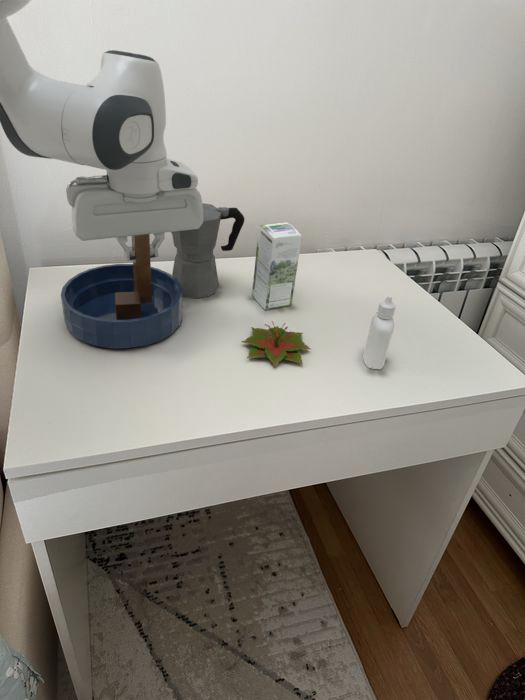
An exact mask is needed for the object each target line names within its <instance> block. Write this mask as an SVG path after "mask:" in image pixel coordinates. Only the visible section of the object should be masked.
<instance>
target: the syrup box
mask: <svg viewBox="0 0 525 700" xmlns="http://www.w3.org/2000/svg"><path fill="white" fill-rule="evenodd" d="M257 229H258V231H257V240H256V249H255V250H256V251H255V259H254V260H255V261H254V272H253V282H252V289H251V290H252V292H251V296H252V297H253V298H254V300H256V302H257V303H258V304H259V305H260V306H261V307H262V308H263V309H264V310H265V311H267V310H274V309H278V308H285V307H290V306H292V304H293V298H294V291H295V286H296V278H297V273H298V264H299V260H300V259H299V258H300V254H301V253H300V251H301V247H302V246H301V245H302V239H303V235H302V234H301V233H300V231H298V230H297V229H296V228H295V227H294V226H293V225H292V224H290V223H288V222H287V221H286V222H278V223H269V224H260V225H258V228H257Z"/></svg>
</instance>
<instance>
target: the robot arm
mask: <svg viewBox="0 0 525 700" xmlns="http://www.w3.org/2000/svg"><path fill="white" fill-rule="evenodd" d="M31 1H32V0H0V125H1V129H2V130H3V132H4V134H5V136H6V138H7V139H8V141H9V143H10V144H11V145H12V146H13V148H14V149H16V150H17V151H18V152H20V153H21V154H24V155H25V156H28V157H32V158H41V159H49V160H58V161H62V162H66V163H71V164H76V165H80V166H86V167H90V168H96V169H100V170H106V174H105V175H104V174H103V175H93V176H77V177H75V179H74V180H71V181H70V182H69V183H68V184H67V186H66V190H65V192H66V199H67V200H66V201H67V203H68V205H70V207H71V226H72V230H73V233H74V235H75V237H77V238H78V239H79V240H80V241H82V242H84V241H85V242H86V241H95V240H104V239H105V240H106V239H114V238H115V240H116V241H117V243H118V244H119V246H120V247H121V248H122V249H123V255H124V259H125V261H126V262H129V261H133V260H135V250H134V249H133V247H132V245H130V246H128V245H127V243H128V237H131V236H135V235H145V234H150V235H153V236H154V237H153V240H152V242H150V259H154V258H158V257H159V249H160V247H161V245H162V244H163V242H164V241H165V233H171V232H174V231H184V230H194V229H199V228H200V226H201V225H202V223H203V205H202V203H203V199H202V195H201V192H200V191H199V190H198V189H197V187H198V185H199V178H198V175H197V173H195V172H194V170H193V169H192V168H191V167H189V166H188V165H187V164H186V163H184V162H181V161H178V160H174V159H171V158H168V157H167V155H168V153H167V148H166V144H165V140H164V138H165V137H164V136H165V135H164V134H165V130H166V126H167V113H166V112H167V111H166V95H165V87H164V80H163V75H162V71H161V66H160V64H159V62H158V61H157V60H155V59H154V58H153V57H151V56H148V55H145V54H139V53H132V52H128V51H122V50H115V49H113V50H112V49H111V50H110V49H109V50H107V51H104V52H102V54H101V59H100V60H101V61H100V71H99V72H98V73H97V75H96V76H95V77H94V78H93V79H92V80H91V81H89V82H88V83H87V84H86V85H85V84H84V85H83V84H79V83H73V82H67V81H62V80H57V79H54V78H51V77H48V76H46V75H44V74H42V73H40V72H39V71H37V70H36V69H35V68H33V67H32V66H31V64H30V63H29V61H28V59H27V56H26V55H25V53H24V50H23V48H22V47H21V44H20V43H19V41H18V38H17V36H16V34H15V31H14V30H13V28H12V26H11V24H10V22H9V20H8V17H11V16H13V15H15V14H16V13H18V12H19V11H21V10H22V9H24V8H25V7H26V6H27V5H28V4H30V2H31Z"/></svg>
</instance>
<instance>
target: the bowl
mask: <svg viewBox="0 0 525 700" xmlns="http://www.w3.org/2000/svg"><path fill="white" fill-rule="evenodd" d="M116 292H134V273H133V263H114V264H113V263H112V264H105V265H100V266H96V267H92V268H89V269H86V270H83V271H82V272H79V273H77V274H76V275H74V276H73V277H70V279H68V280H67V281H66V283H65V284H64V285H63V286H62V289H61V292H60V299H61V306H62V307H61V308H62V313H63V319H64V323H65V325H66V326H65V327H66V329H67V330H68V332H69V333H70V334H71V335H72V336H73V337H75V338H76V339H78V340H80V341H82V342H83V343H86V344H89V345H92V346H96V347H101V348H108V349H132V348H133V349H134V348H138V347H144V346H148V345H152V344H154V343H157V342H159V341H162V340H163V339H165V338H167V337H169V336H170V335H172V334H173V333H174V332H175V331H176V330H177V329H178V328H179V327H180V325H181V322H182V320H183V296H182V288H181V285H180V284H179V282H178V281H177V279H176V278H174V277H173V276H172V274H170V273H169V272H166V271H165V270H162V269H160V268H158V267H153V266H151V293H152V302H151V303H144V304H141V318H136V319H130V320H117V318H116V306H115V293H116Z"/></svg>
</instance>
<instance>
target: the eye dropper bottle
mask: <svg viewBox="0 0 525 700" xmlns="http://www.w3.org/2000/svg"><path fill="white" fill-rule="evenodd" d="M395 310H396V304H395V303H394V302H393V296H392V295H391V294H389V295H387V296H386V297H385V299H384V300H381V301H379V303H378V308H377V312H375V313H374V314H373V316H372V317H371V322H370V324H369V329H368V333H367V338H366V342H365V346H364V350H363V354H362V355H363V356H362V358H363V362H364V365H366V367H367V368H368V369H373V370H382V369H383V367H384V365H385V364H386V363H385V362H386V359H387V355H388V351H389V348H390V345H391V341H392V337H393V333H394V329H395V321H394V320H395V319H394V318H393V317H394V314H395Z"/></svg>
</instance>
